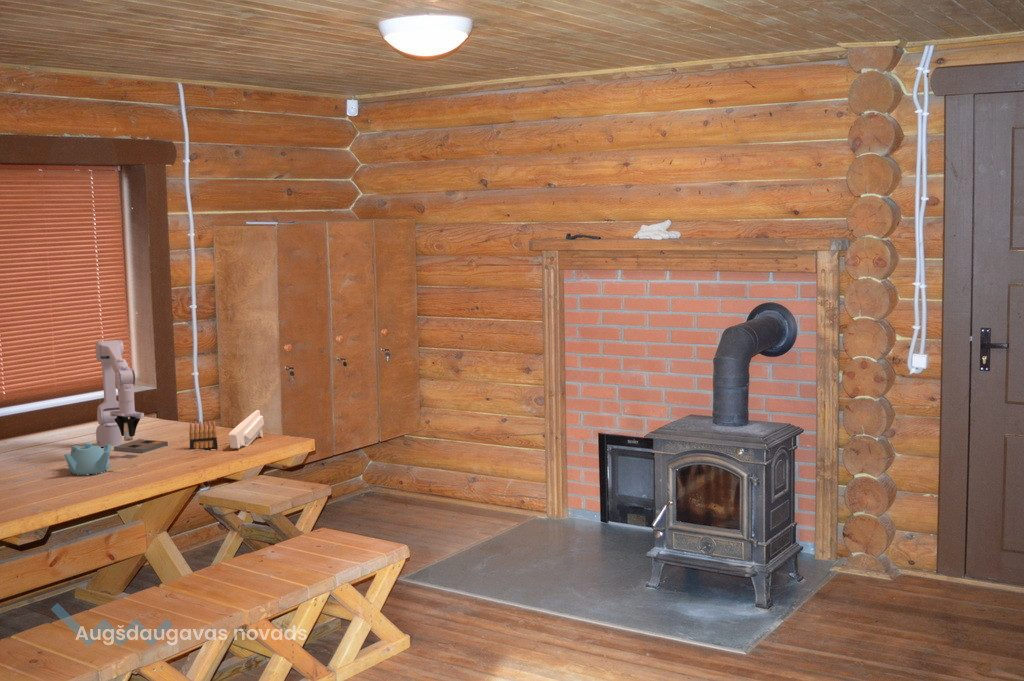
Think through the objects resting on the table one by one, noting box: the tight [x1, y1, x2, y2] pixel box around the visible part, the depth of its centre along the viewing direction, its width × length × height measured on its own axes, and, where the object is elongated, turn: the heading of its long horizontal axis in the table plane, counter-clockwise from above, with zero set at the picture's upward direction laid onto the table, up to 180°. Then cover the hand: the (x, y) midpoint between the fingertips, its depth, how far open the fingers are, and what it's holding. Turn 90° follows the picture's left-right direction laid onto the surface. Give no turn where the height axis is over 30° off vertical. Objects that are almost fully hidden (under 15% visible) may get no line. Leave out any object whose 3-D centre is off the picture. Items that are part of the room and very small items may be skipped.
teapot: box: [63, 442, 112, 476], centre depth 386 cm, size 15×15×11 cm
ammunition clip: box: [189, 420, 218, 451], centre depth 419 cm, size 11×2×12 cm, turn 112°
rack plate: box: [113, 438, 169, 454], centre depth 421 cm, size 14×15×3 cm
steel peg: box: [123, 422, 134, 442], centre depth 404 cm, size 3×3×7 cm
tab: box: [118, 454, 139, 459], centre depth 406 cm, size 6×5×1 cm
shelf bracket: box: [228, 409, 265, 449], centre depth 431 cm, size 6×25×13 cm, turn 169°
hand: (128, 435), depth 405 cm, fingers closed on steel peg, 3 cm apart
